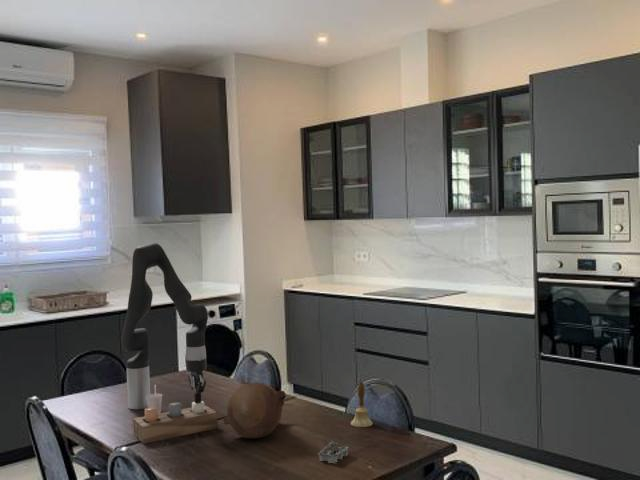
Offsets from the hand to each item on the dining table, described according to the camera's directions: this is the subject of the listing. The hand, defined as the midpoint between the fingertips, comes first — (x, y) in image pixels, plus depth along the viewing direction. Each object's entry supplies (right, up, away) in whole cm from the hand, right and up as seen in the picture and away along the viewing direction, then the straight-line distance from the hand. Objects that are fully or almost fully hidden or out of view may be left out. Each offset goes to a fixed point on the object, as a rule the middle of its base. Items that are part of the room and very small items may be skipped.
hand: (197, 402), depth 242 cm
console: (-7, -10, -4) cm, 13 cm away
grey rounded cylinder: (-8, -5, -4) cm, 10 cm away
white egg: (0, -6, 0) cm, 6 cm away
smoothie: (-19, -10, +11) cm, 24 cm away
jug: (+25, -9, -8) cm, 28 cm away
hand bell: (+62, -8, -3) cm, 63 cm away
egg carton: (+51, -9, -36) cm, 63 cm away
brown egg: (-15, -6, -9) cm, 19 cm away
